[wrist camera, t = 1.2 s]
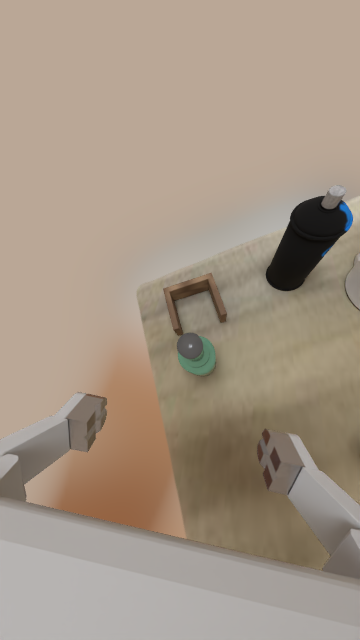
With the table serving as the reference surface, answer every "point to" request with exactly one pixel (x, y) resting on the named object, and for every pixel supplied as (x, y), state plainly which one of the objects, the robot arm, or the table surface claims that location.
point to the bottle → (196, 354)
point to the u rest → (190, 289)
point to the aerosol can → (309, 238)
